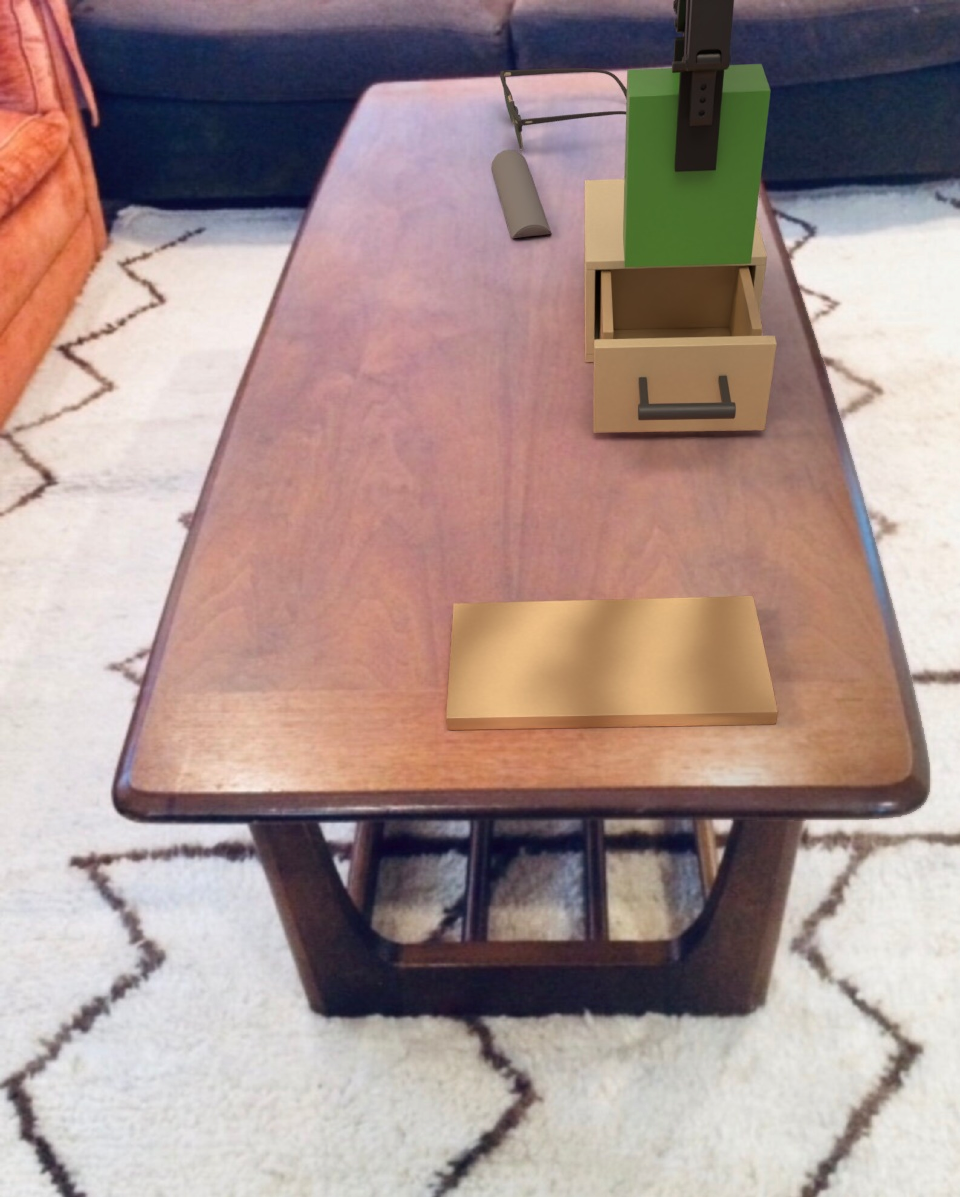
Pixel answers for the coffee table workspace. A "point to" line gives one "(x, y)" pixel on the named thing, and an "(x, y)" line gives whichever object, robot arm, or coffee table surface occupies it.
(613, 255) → the cabinet
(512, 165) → the half round rod
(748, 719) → the board
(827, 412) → the coffee table surface
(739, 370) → the drawer
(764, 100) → the tall green block
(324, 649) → the coffee table surface
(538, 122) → the sunglasses
